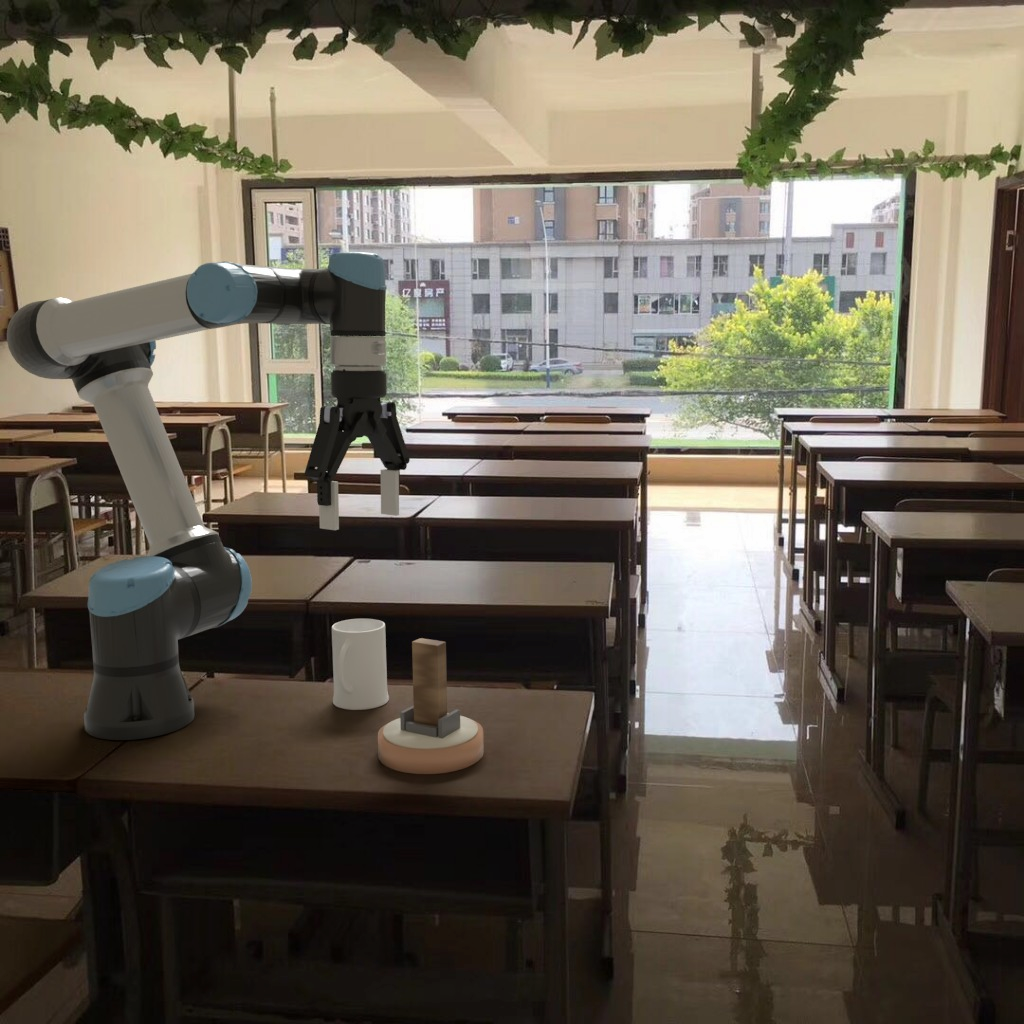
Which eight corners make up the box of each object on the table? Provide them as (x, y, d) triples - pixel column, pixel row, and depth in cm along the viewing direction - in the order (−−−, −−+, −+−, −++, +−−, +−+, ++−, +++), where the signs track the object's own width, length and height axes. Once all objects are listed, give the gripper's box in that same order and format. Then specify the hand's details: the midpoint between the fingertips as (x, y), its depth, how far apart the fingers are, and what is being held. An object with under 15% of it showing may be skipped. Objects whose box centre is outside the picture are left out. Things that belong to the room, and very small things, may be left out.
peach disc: (357, 761, 141) (355, 718, 140) (417, 727, 153) (416, 688, 152) (446, 782, 134) (446, 737, 133) (502, 745, 146) (502, 703, 145)
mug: (362, 720, 156) (360, 640, 155) (311, 714, 159) (308, 635, 157) (398, 695, 167) (396, 620, 166) (349, 689, 170) (347, 616, 168)
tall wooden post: (414, 728, 143) (412, 641, 141) (422, 724, 145) (420, 638, 143) (439, 734, 141) (437, 645, 139) (447, 729, 143) (445, 641, 141)
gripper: (320, 372, 134) (323, 538, 138) (433, 367, 156) (433, 511, 159) (274, 370, 138) (279, 532, 142) (391, 365, 159) (392, 506, 163)
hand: (360, 521), depth 151 cm, fingers open, 13 cm apart
